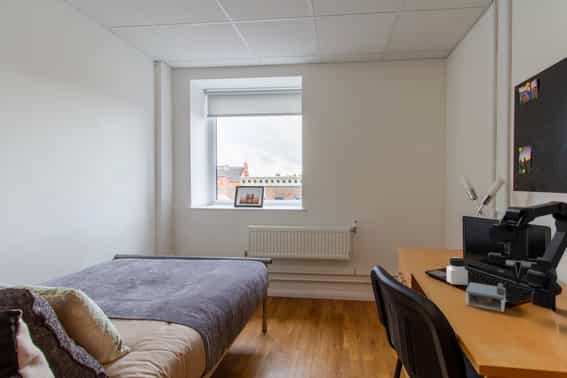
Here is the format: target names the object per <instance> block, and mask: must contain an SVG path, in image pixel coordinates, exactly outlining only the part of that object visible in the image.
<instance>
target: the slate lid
mask: <svg viewBox="0 0 567 378" xmlns="http://www.w3.org/2000/svg"><path fill="white" fill-rule="evenodd" d="M466 293H470V294H475V295H481V296H487V297H493V298H498V299H504V296H505V297H506V287H504V283H501V282H498V283H497V286H496V285H491V284H490V285H488V284H483V283H476V282H472V281H471V282H468V285H467V288H466V289H465V294H466Z"/></svg>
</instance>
